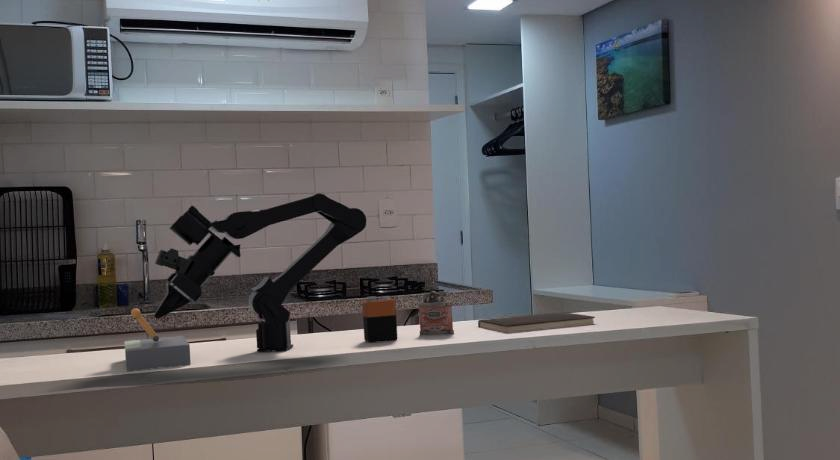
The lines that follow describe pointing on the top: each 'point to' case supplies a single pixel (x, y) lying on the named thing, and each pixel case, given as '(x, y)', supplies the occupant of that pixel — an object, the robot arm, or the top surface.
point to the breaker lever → (144, 324)
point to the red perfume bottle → (435, 314)
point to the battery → (379, 319)
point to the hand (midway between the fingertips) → (155, 317)
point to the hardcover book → (535, 322)
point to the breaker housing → (156, 353)
